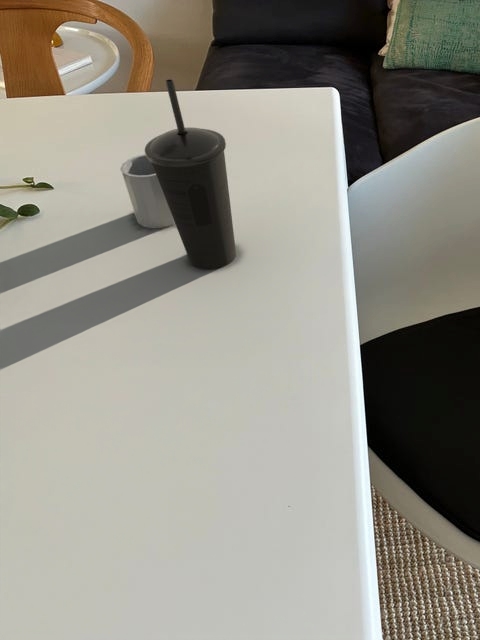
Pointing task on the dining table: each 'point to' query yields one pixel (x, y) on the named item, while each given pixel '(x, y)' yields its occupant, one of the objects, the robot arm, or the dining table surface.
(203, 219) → the drinking cup
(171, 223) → the grey faceted cup
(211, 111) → the dining table surface
